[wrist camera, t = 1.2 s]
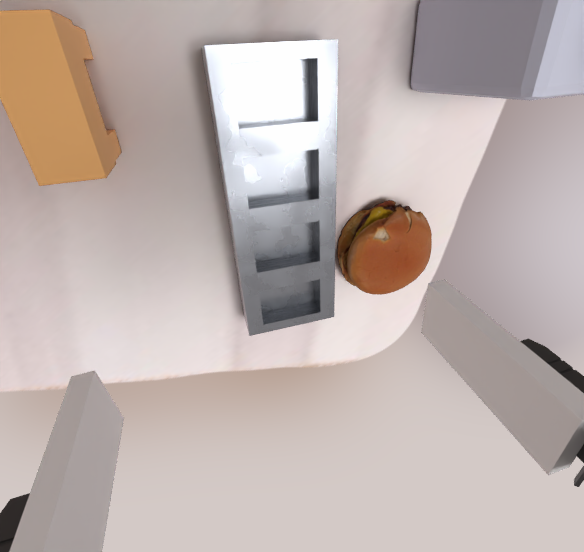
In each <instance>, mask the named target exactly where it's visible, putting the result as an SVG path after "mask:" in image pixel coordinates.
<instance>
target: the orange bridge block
mask: <svg viewBox="0 0 584 552" xmlns="http://www.w3.org/2000/svg"><path fill="white" fill-rule="evenodd" d="M91 59H93V56H92V52H91V49H90V46H89V43H88V39H87V36H86V33H85V30H83V29H81V28H79V27H77V26H74V25H73V24H72V21H71V20H70V19H68V18H65V17H63V16H61V15H59V14H57V13H55V12H53V11H51V10H9V11H0V99H1V101H2V104H3V106H4V108H5V110H6V113H7V115H8V117H9V119H10V122H11V124H12V126H13V128H14V131H15V133H16V135H17V137H18V139H19V142H20V144H21V146H22V148H23V151H24V153H25V155H26V157H27V160H28V162H29V164H30V166H31V169H32V171H33V173H34V175H35V178H36V180H37V182H38V184H39V186H43V185H51V184H60V183H68V182H77V181H85V180H94V179H102V178H107V176H108V175H109V173H110V172H111V170H112V169H113V168H114V166H115V165H116V159H117V158H118V156H119V155H120V154H121V148H120V145H119V142H118V138H117V135H116V132H115V130H106V129H105V125H104V122H103V119H102V116H101V113H100V110H99V106H98V103H97V100H96V97H95V94H94V91H93V87H92V84H91V81H90V78H89V75H88V71H87V68H86V65H85V62H84V60H91Z"/></svg>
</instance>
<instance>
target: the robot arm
mask: <svg viewBox="0 0 584 552" xmlns="http://www.w3.org/2000/svg"><path fill="white" fill-rule="evenodd" d="M421 333H422V334H423V335H424V336H425V337H426V338H427V340H428V341H429V342H430V343H431V344H432V345H433V346H434V347H435V349H436V350H437V351H438V352H439V353H440V354H441V355H442V356H443V357H444V358H445V360H446V361H447V362H448V363H449V364H450V365H451V366H452V368H453V369H454V370H455V371H456V372H457V373H458V374H459V375H460V377H461V378H462V379H463V380H464V381H465V382H466V383H467V384H468V385H469V387H470V388H471V389H472V390H473V391H474V392H475V393H476V394H477V396H478V397H479V398H480V399H481V400H482V401H483V402H484V404H485V405H486V406H487V407H488V408H489V409H490V410H491V411H492V412H493V414H494V415H495V416H496V417H497V418H498V419H499V420H500V421H501V422H502V424H503V425H504V426H505V427H506V428H507V429H508V430H509V431H510V433H511V434H512V435H513V436H514V437H515V438H516V439H517V440H518V442H519V443H520V444H521V445H522V446H523V447H524V448H525V450H526V451H527V452H528V453H529V454H530V455H531V456H532V457H533V458H534V460H535V461H536V462H537V463H538V464H539V465H540V466H541V468H542V469H543V470H544V471H545V472H546V473H547V474H548V475H550V474H553V473H555V472H558V471H560V470H563V469H565V468H568V467H570V465H571V464H572V462H573V461H574V459H575V458H576V456H577V457H578V458H579V459H580V460H581V461H582V462H583V463H584V376H583V375H581V374H580V373H579V372H577V371H576V370H573V369H572V367H571V366H570V365H568V364H567V363H566V362H565V361H561V359H560V358H559V357H558V356H557V355H556V354H554V353H553V352H552V351H550V350H549V349H548V348H546V347H545V346H543V345H541V344H538V343H536V342H534V341H532V340H530V339H526V340H523V341H519V340H518V339H517V338H516V337H514V336H513V335H512V334H511V333H510V332H508V331H507V330H506V329H505V328H503V327H502V326H501V325H500V324H498V323H497V322H496V321H495V320H494V319H492V318H491V317H490V316H489V315H488V314H486V313H485V312H484V311H483V310H481V309H480V308H479V307H478V306H477V305H475V304H474V303H473V302H472V301H470V300H469V299H468V298H467V297H466V296H464V295H463V294H462V293H461V292H460V291H458V290H457V289H456V288H455V287H453V286H452V285H451V284H450V283H449V282H447V281H446V280H445V279H444V280H440V281H436V282H432V283H428V289H427V297H426V303H425V310H424V317H423V324H422V332H421ZM123 421H124V417H123V415H122V414H121V412H120V411H119V409H118V407H117V406H116V404H115V402H114V401H113V399H112V398H111V396H110V394H109V393H108V391H107V390H106V388H105V386H104V385H103V383H102V382H101V380H100V378H99V377H98V375H97V374H96V372H95V371H91V372H87V373H83V374H79V375H76V376H72V377H71V379H70V382H69V385H68V387H67V390H66V393H65V396H64V399H63V402H62V404H61V407H60V410H59V413H58V416H57V418H56V422H55V424H54V427H53V430H52V433H51V435H50V438H49V441H48V444H47V447H46V450H45V452H44V455H43V458H42V461H41V464H40V466H39V469H38V472H37V475H36V478H35V481H34V483H33V486H32V489H31V492H30V493H29V494H26V495H23V496H19V497H16V498H13V499H10V501H9V502H8V503H7V505H6V506H5V508H4V509H3V510H2V512H1V513H0V552H102V548H103V542H104V536H105V530H106V524H107V518H108V512H109V506H110V500H111V494H112V488H113V481H114V475H115V469H116V463H117V457H118V451H119V445H120V439H121V433H122V427H123ZM583 480H584V466H583V467H582V469H581V470H580V472H579V473H578V475H577V476H576V477H575V480H574V485H575V486H577V487H579V486H580V484H581V483H582V481H583Z"/></svg>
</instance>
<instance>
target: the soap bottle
mask: <svg viewBox="0 0 584 552" xmlns="http://www.w3.org/2000/svg"><path fill="white" fill-rule="evenodd" d="M411 88H412V89H413V90H416V91H420V92H427V93H440V94H453V95H466V96H479V97H492V98H505V99H519V100H538V99H546V98H556V97H565V96H573V95H582V94H584V0H421V1H420V4H419V9H418V19H417V28H416V38H415V47H414V56H413V66H412V75H411Z"/></svg>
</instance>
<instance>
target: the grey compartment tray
mask: <svg viewBox="0 0 584 552" xmlns="http://www.w3.org/2000/svg"><path fill="white" fill-rule="evenodd" d="M201 50H202V56H203V62H204V68H205V75H206V81H207V87H208V93H209V100H210V106H211V112H212V118H213V124H214V131H215V137H216V143H217V149H218V156H219V162H220V168H221V174H222V181H223V187H224V193H225V199H226V206H227V212H228V218H229V224H230V231H231V237H232V243H233V249H234V256H235V262H236V268H237V274H238V281H239V287H240V293H241V299H242V306H243V312H244V317H245V321H246V324H247V328H248V332H249V336H251V335H256V334H260V333H264V332H269V331H273V330H278V329H282V328H287V327H291V326H295V325H300V324H304V323H309V322H313V321H318V320H322V319H326V318H331V317H334V290H335V223H336V157H337V90H338V39H332V40H310V41H289V42H267V43H246V44H224V45H204V46H203V47H202V49H201Z"/></svg>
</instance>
